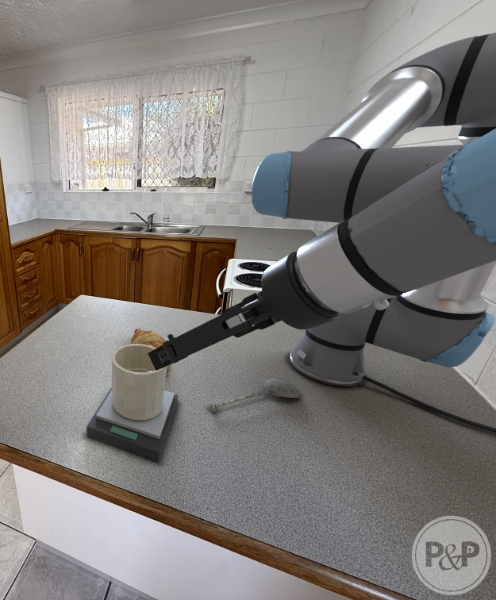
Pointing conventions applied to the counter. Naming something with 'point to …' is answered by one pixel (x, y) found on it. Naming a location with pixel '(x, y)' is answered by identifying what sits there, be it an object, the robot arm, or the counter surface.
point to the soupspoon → (265, 392)
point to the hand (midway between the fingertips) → (186, 346)
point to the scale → (133, 428)
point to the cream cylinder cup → (136, 383)
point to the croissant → (147, 339)
